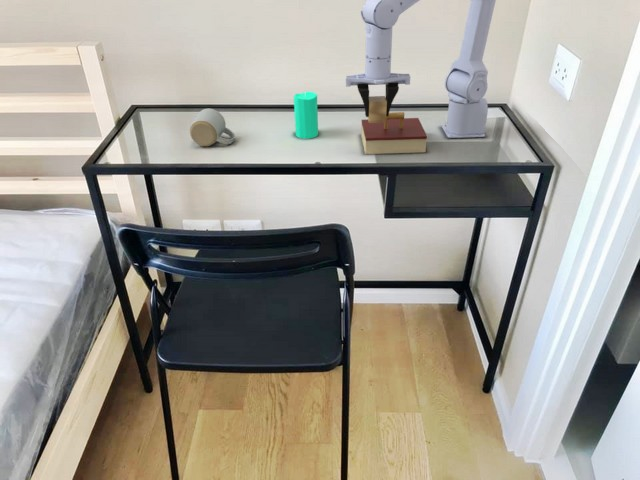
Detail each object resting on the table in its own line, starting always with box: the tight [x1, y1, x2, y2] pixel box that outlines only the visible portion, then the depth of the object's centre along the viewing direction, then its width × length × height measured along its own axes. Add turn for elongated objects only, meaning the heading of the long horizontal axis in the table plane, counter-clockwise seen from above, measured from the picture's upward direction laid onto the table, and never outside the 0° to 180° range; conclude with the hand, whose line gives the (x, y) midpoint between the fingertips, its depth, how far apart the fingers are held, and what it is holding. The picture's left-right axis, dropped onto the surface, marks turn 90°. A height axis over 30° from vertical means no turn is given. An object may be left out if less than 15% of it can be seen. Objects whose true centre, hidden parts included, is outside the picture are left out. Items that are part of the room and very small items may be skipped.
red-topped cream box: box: [360, 122, 428, 155], centre depth 133 cm, size 12×15×4 cm
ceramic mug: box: [189, 108, 236, 147], centre depth 136 cm, size 11×8×8 cm
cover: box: [361, 111, 428, 141], centre depth 130 cm, size 13×15×5 cm
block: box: [367, 95, 387, 123], centre depth 125 cm, size 4×4×5 cm
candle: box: [293, 91, 319, 140], centre depth 137 cm, size 6×6×12 cm
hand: (376, 115), depth 125 cm, fingers closed on block, 4 cm apart
